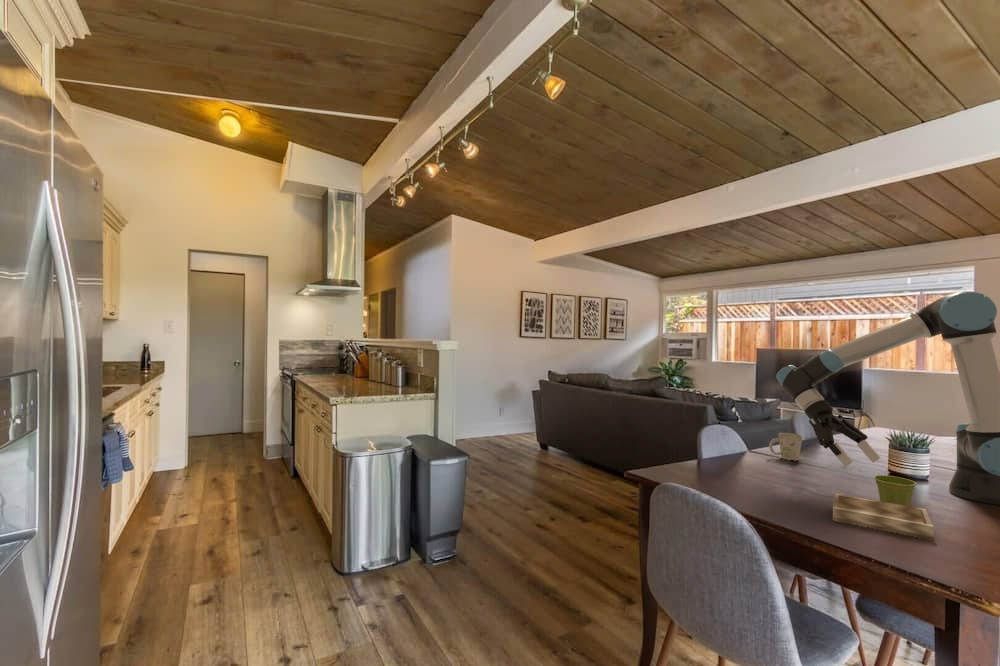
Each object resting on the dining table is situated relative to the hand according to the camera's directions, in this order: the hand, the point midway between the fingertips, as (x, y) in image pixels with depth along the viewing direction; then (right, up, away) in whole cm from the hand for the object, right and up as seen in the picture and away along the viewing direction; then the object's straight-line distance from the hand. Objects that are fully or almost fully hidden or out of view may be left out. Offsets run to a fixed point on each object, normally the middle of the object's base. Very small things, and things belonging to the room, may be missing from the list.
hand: (863, 462), depth 142 cm
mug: (+7, -13, +50) cm, 52 cm away
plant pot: (+3, -12, -7) cm, 14 cm away
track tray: (-8, -11, -16) cm, 22 cm away
